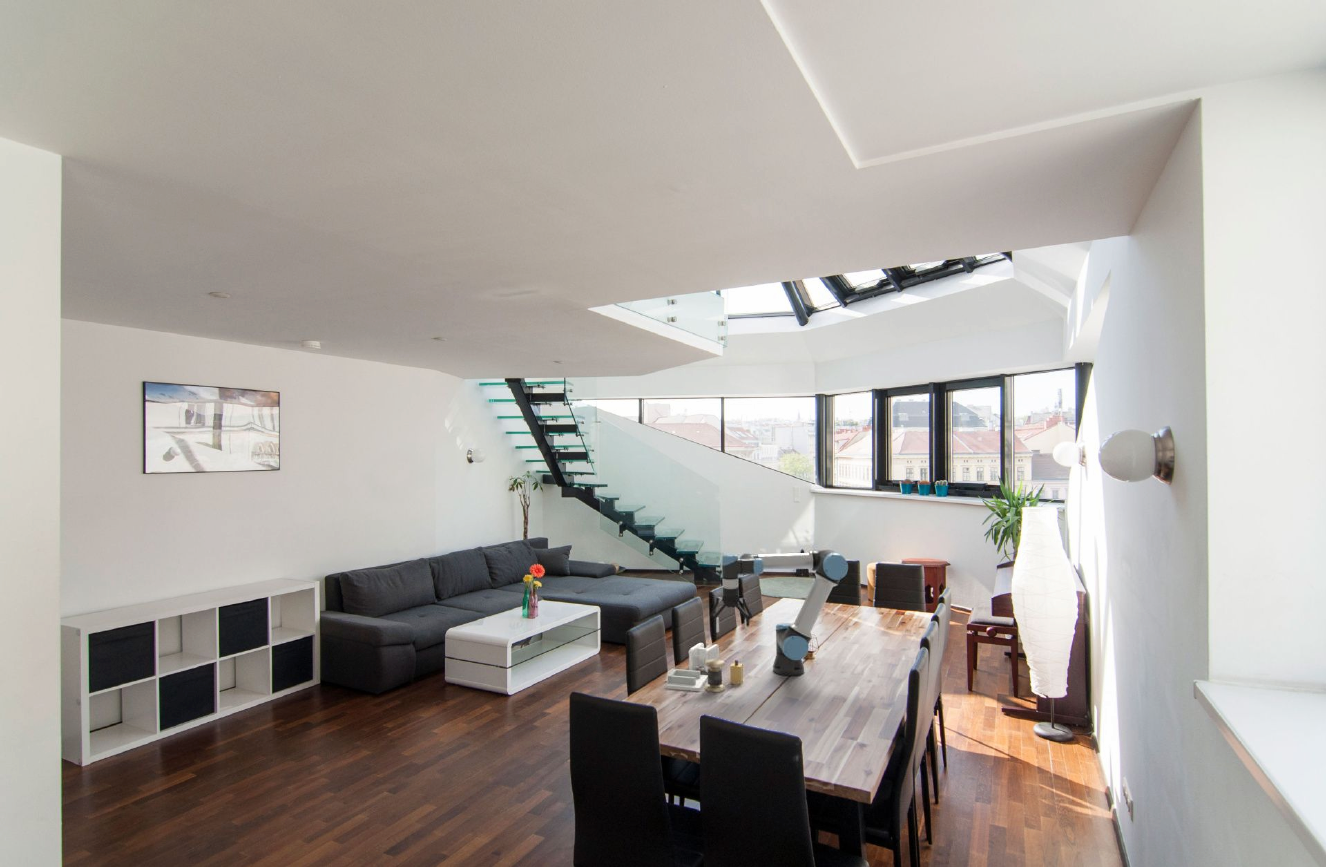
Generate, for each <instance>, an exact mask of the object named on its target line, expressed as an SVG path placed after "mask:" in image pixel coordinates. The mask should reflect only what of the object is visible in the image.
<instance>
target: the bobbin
mask: <svg viewBox="0 0 1326 867" xmlns="http://www.w3.org/2000/svg"><path fill="white" fill-rule="evenodd" d="M705 666H707V667H710V669H708V673H707V675H708V680H707V684H706V685H704V689H705V691H707V692H709V693H722V692H724V691H725V690H726V686H725V685H724V684H723V672H722V671H723V670H722V667H723V668H724V666H725V661H724V660H722V659H719V660H716V659H712V660H707V661H705Z"/></svg>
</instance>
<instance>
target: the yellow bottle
mask: <svg viewBox="0 0 1326 867" xmlns="http://www.w3.org/2000/svg"><path fill="white" fill-rule="evenodd" d="M743 665H744V664H743V663H741V662H740V663H739V660H738V659H735V660H734V662H732V663H731V664H730V666H729V668H730V684H734V685H735V684H736V685H741V684H742V683H743V680H744V668H743V667H744V666H743Z"/></svg>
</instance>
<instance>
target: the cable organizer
mask: <svg viewBox="0 0 1326 867" xmlns="http://www.w3.org/2000/svg"><path fill="white" fill-rule="evenodd" d="M712 659H716V660H720V649H719V644H718V643H717V644H715V643H714V644H713V645H711V646H710V647H709V648H707V647H706V648H705V645H704V643H703V642H699V643H696V645H694V646H692V647H690V649H689V650H688V664H689V666H688V670H694V671H697V670H699V669H700V668H703V670H705V672H706V673H707V674H708V669H710V667H707V666H705V661H707V660H712Z"/></svg>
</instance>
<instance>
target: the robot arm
mask: <svg viewBox="0 0 1326 867" xmlns="http://www.w3.org/2000/svg"><path fill="white" fill-rule="evenodd" d="M721 559H722V562H721V569H722V570H721V571H722V576H721V577H722V597H721V596H717V597H716V599H715V601H716V602H715V604H714V606H713V608H712V611H711V612H710V615H709V617H710V618H713V624H714V626H716V633H719V632H720V620H719V619H720V618H719V617H718V616H719V615H720V614H721V612H722V611H723V610H724V609H725V608H726V607H727V608H733V609H734V608H736V609H737V610H738V611H739V612H740V613H741V614H742V615H743V617H744V634H746V635H747V634H748V627H750V619H753V617H754V614H753V613H752V610H751V609H750V607H749V605H748V603H747V598H746V597H741V598H740V591H739V575H740V576H741V575H754V576H755V575H761V574H763V573H764V570H800V569H801V570H803V569H804V570H805V569H808V570H809V571H811V572H813V571H815V572H814V574H815V580H814V582H813V584H812V586H811V588H810V590H809V592H808V594H807V596H806V598H805V600H804V602H803V604H802V606H801V607H800V610H799V612H798V615H796V616H797V617H796V618H795V620H794V622H793V623H792V622H791V623H790V622H789V623H788V622H787V623H784V622H783V623H777V624H776V626H775V645H776V646H775V649H776V655H775V658H774V662H773V665H772V670H773V672H774V673H775V674H778V675H782V676H789V677H791V676H792V677H793V676H800V675H803V674H804V673H805V666H804V663H803V659H804V658H805V657H806V656H807V654H808V653H809V649H810V648H809V646H810V645H809V644H810V642H811V640H812V638H813V635H812V630H813V629H814V627H815V624H816V622H817V621H818V618H819V616H820V614H821V612H822V609H823V607H824V606H825V604H826V601H827V600H828V597H829V595H830V594H831V592H832V590H833V588H834V587H836V586H838V585H839V583H840V581H841V580H842V579H844V577H846V575H847V574H848V570H849V564H848V561H847V559H846V558H845V557H844V556H843V555H842V554H840V553H838V552H836V551H834V550H833V549H832V550H831V549H822V550H821V549H820V550H819V549H818V550H809V551H808V552H805V553H803V552H802V553H801V552H800V553H759V554H757V553H756V554H753V553H743V554H741V556H740V557H739V556H738V555H737V554H735V553H733V554H732V553H727V554H724V555H722V558H721ZM721 601H722V603H723V605H722V606H721V607H720V608H719V609H718V611H717V612H716V610H717V608H718V605H719V604H720V602H721ZM740 602H741V604H742V605H743V607H744V608H745V610H744V608H743V607H742V606H741V605H740ZM715 612H716V613H715Z"/></svg>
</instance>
